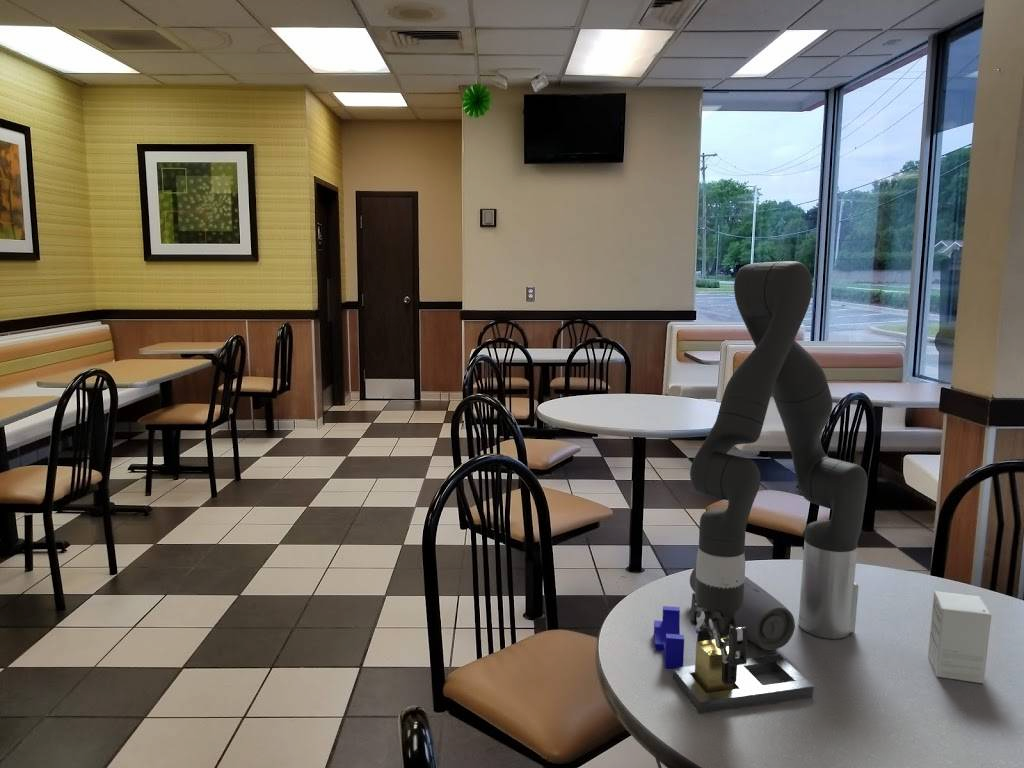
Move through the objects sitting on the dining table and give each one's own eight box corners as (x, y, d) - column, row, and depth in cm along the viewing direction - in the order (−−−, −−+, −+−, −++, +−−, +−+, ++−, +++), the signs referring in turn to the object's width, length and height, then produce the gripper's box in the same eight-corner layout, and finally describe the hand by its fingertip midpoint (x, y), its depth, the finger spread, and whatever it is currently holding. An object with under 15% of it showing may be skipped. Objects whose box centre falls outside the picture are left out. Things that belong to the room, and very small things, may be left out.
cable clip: (653, 635, 142) (654, 605, 141) (678, 636, 142) (679, 607, 141) (656, 669, 131) (657, 637, 130) (682, 671, 130) (684, 639, 129)
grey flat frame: (778, 664, 132) (779, 654, 131) (812, 697, 122) (813, 686, 122) (672, 678, 127) (672, 668, 127) (699, 713, 118) (700, 702, 117)
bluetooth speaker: (796, 652, 136) (800, 601, 134) (751, 660, 133) (754, 608, 131) (725, 598, 157) (728, 552, 155) (686, 604, 154) (688, 558, 153)
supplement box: (973, 662, 133) (981, 595, 130) (984, 685, 126) (992, 614, 123) (926, 655, 135) (933, 589, 133) (934, 677, 128) (942, 607, 126)
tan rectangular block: (719, 682, 126) (721, 638, 125) (732, 698, 122) (734, 652, 121) (694, 686, 125) (696, 641, 124) (706, 701, 121) (709, 655, 120)
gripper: (765, 592, 114) (759, 690, 117) (719, 555, 128) (715, 643, 131) (720, 597, 112) (715, 696, 115) (678, 559, 126) (675, 649, 129)
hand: (715, 668), depth 123 cm, fingers open, 8 cm apart
